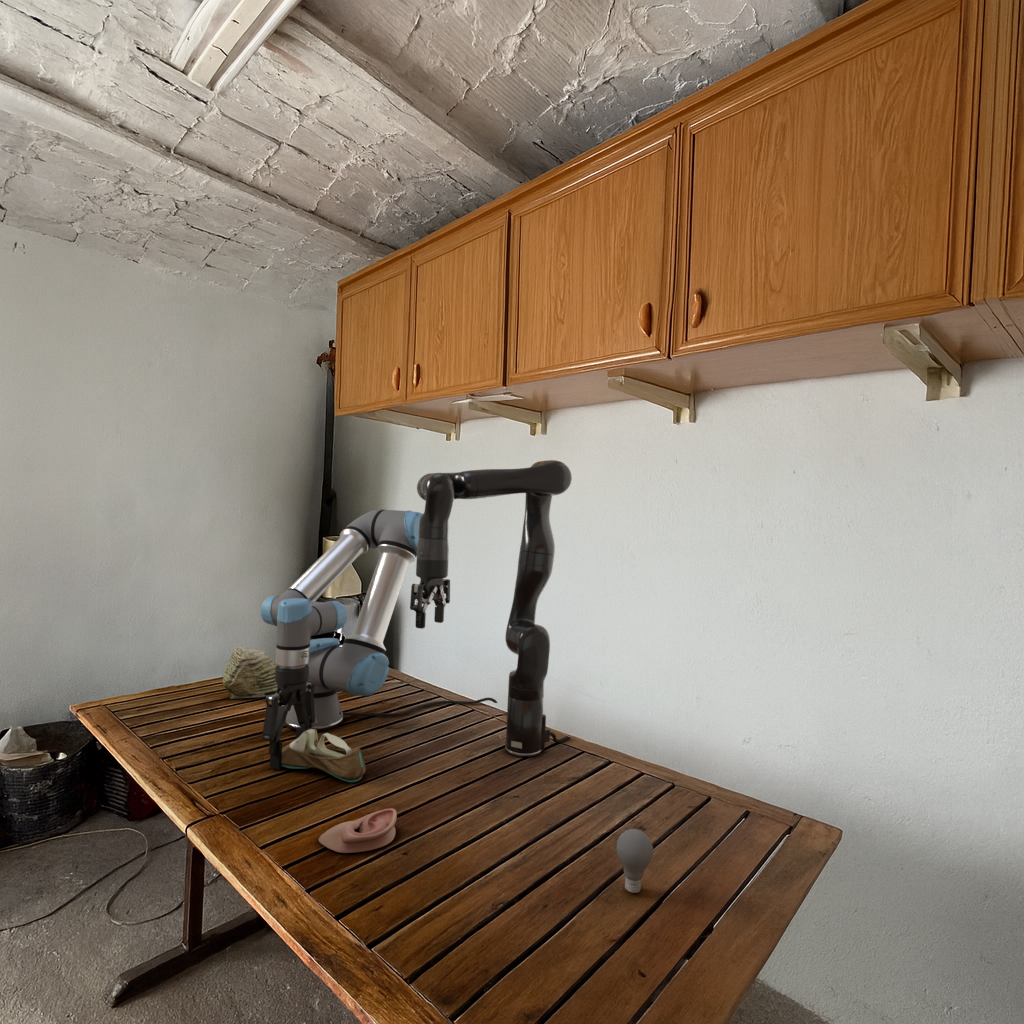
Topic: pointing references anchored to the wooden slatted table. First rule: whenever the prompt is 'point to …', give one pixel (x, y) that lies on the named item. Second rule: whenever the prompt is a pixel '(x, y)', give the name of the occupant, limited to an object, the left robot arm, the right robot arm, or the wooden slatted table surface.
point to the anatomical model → (362, 833)
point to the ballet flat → (324, 756)
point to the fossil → (250, 674)
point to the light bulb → (634, 857)
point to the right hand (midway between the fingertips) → (429, 625)
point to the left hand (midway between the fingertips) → (288, 761)
